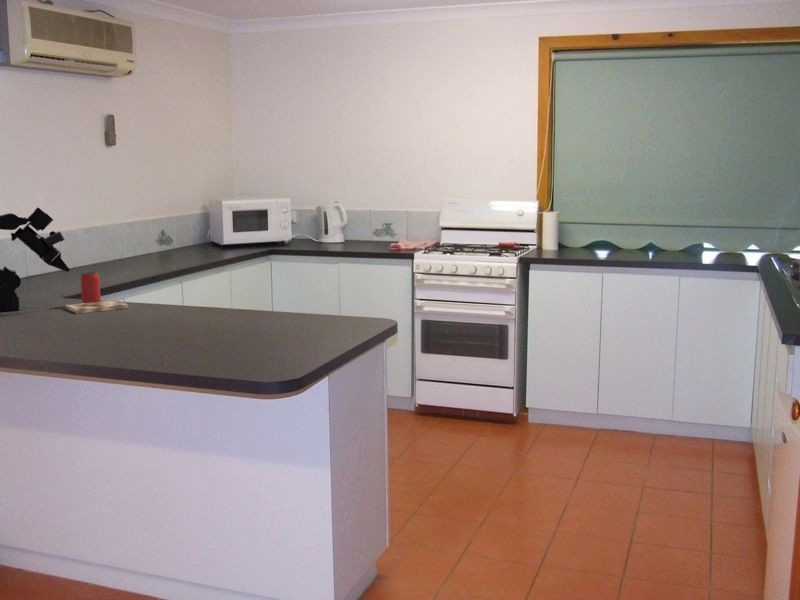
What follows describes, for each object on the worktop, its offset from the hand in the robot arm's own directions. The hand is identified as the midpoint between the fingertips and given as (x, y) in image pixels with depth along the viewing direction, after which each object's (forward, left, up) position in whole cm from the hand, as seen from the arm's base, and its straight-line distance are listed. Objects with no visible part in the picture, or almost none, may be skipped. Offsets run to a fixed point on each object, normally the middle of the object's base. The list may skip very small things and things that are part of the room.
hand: (67, 269), depth 309 cm
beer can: (+8, -1, -14) cm, 16 cm away
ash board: (+6, -13, -13) cm, 20 cm away
